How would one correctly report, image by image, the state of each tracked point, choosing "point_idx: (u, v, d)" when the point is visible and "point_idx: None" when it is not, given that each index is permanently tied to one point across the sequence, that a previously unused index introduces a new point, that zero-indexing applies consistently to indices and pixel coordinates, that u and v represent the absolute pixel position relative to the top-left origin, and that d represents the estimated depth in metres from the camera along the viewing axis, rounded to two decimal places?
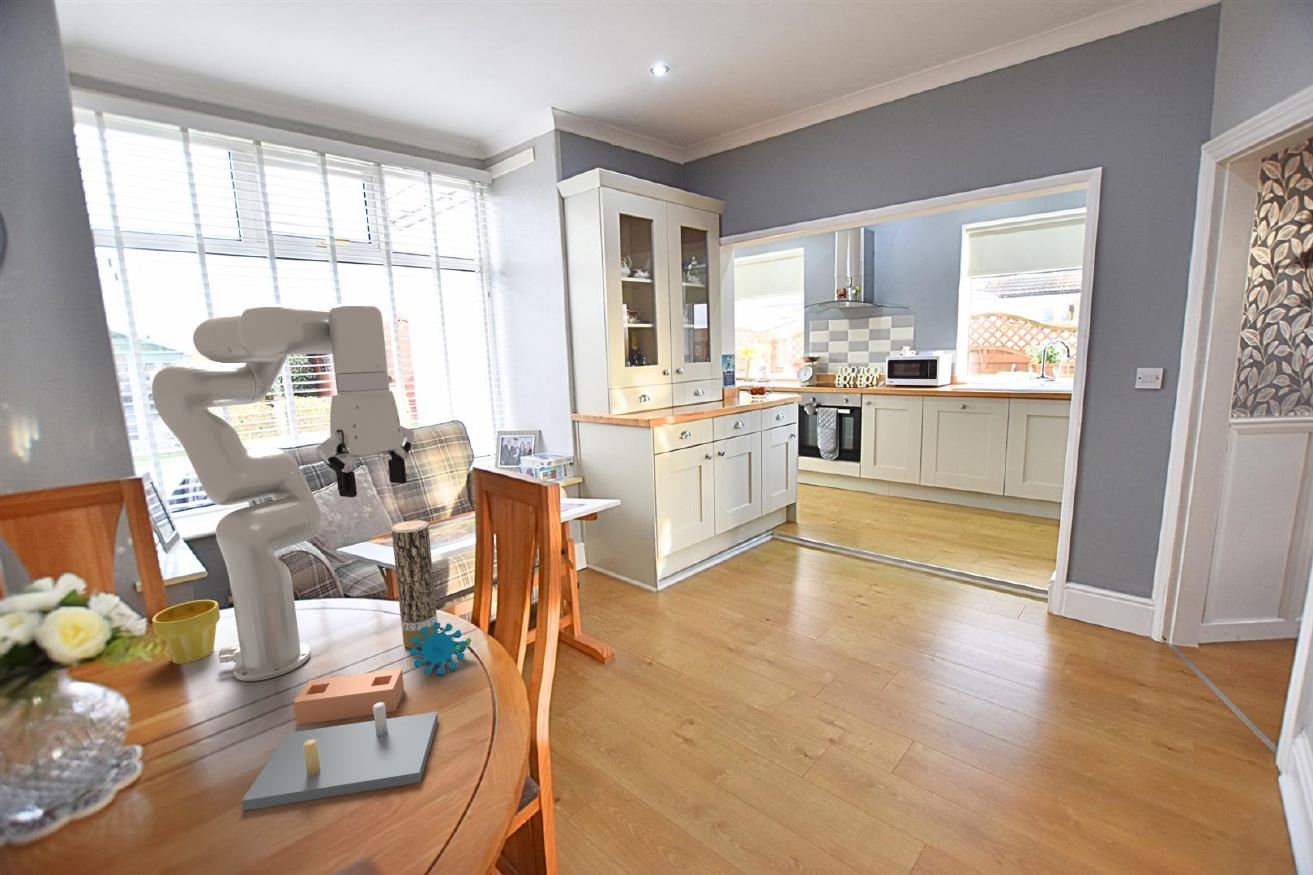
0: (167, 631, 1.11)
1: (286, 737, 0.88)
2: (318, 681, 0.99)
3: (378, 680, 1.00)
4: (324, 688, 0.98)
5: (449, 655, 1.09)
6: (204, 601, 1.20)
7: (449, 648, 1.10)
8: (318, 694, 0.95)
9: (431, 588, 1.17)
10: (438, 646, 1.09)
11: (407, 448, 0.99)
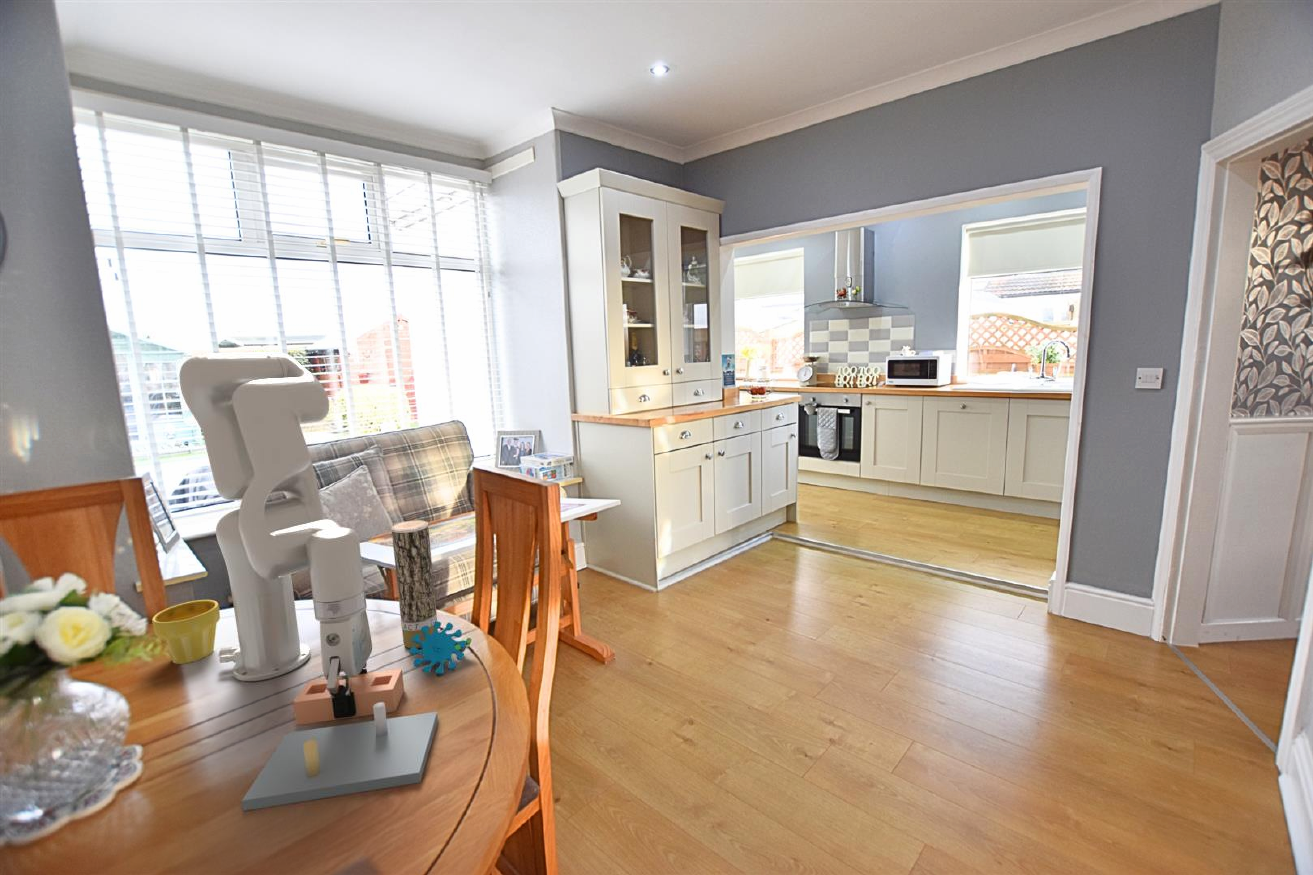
0: (167, 631, 1.11)
1: (286, 737, 0.88)
2: (318, 681, 0.99)
3: (378, 680, 1.00)
4: (324, 688, 0.98)
5: (449, 655, 1.09)
6: (204, 601, 1.20)
7: (449, 647, 1.10)
8: (318, 694, 0.95)
9: (431, 588, 1.17)
10: (438, 645, 1.09)
11: None
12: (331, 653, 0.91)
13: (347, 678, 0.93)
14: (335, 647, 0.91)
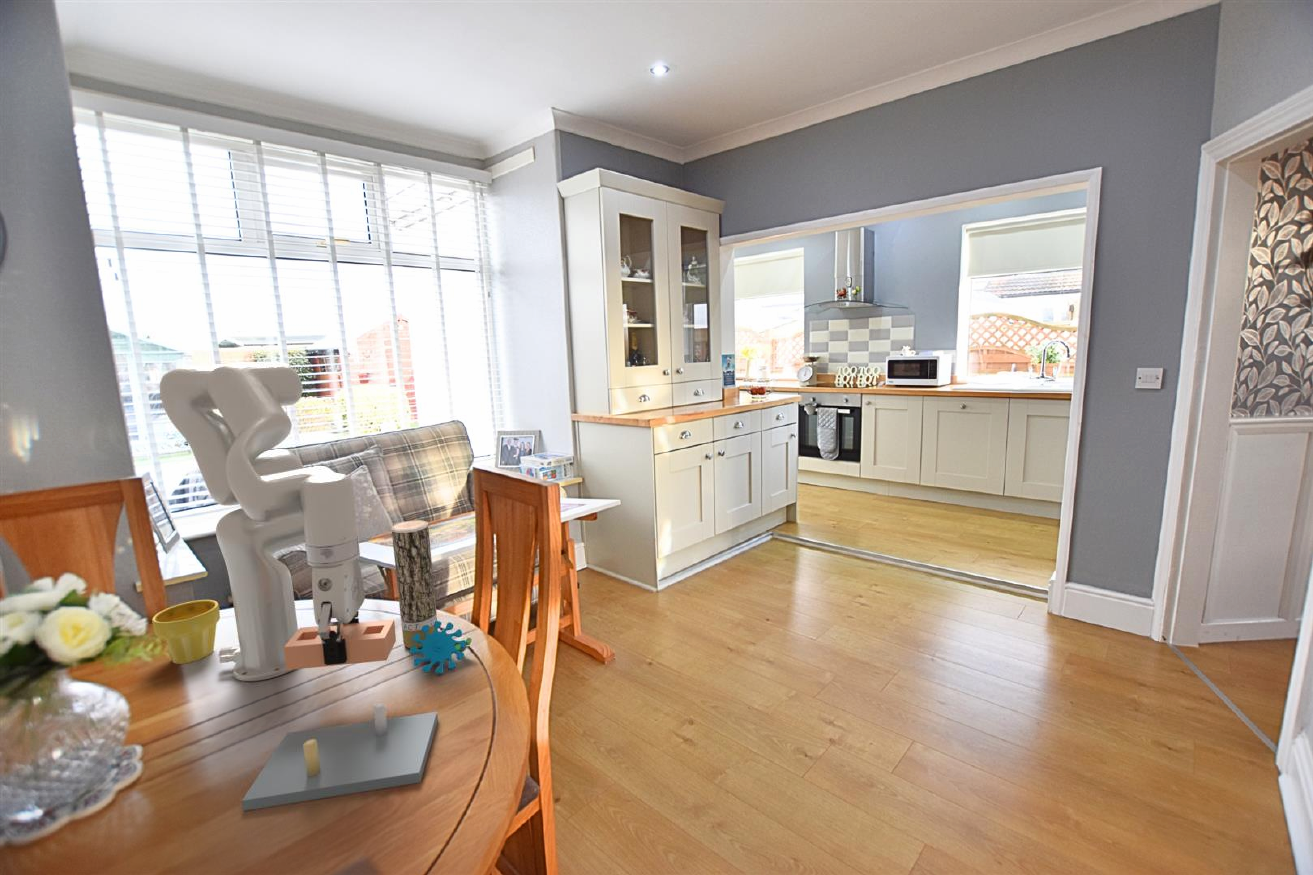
0: (167, 631, 1.11)
1: (286, 737, 0.88)
2: (309, 628, 0.98)
3: (370, 630, 0.99)
4: (315, 635, 0.97)
5: (449, 654, 1.09)
6: (204, 601, 1.20)
7: (449, 647, 1.10)
8: (309, 640, 0.94)
9: (431, 588, 1.17)
10: (438, 645, 1.09)
11: None
12: (322, 598, 0.90)
13: (338, 624, 0.92)
14: (327, 592, 0.90)
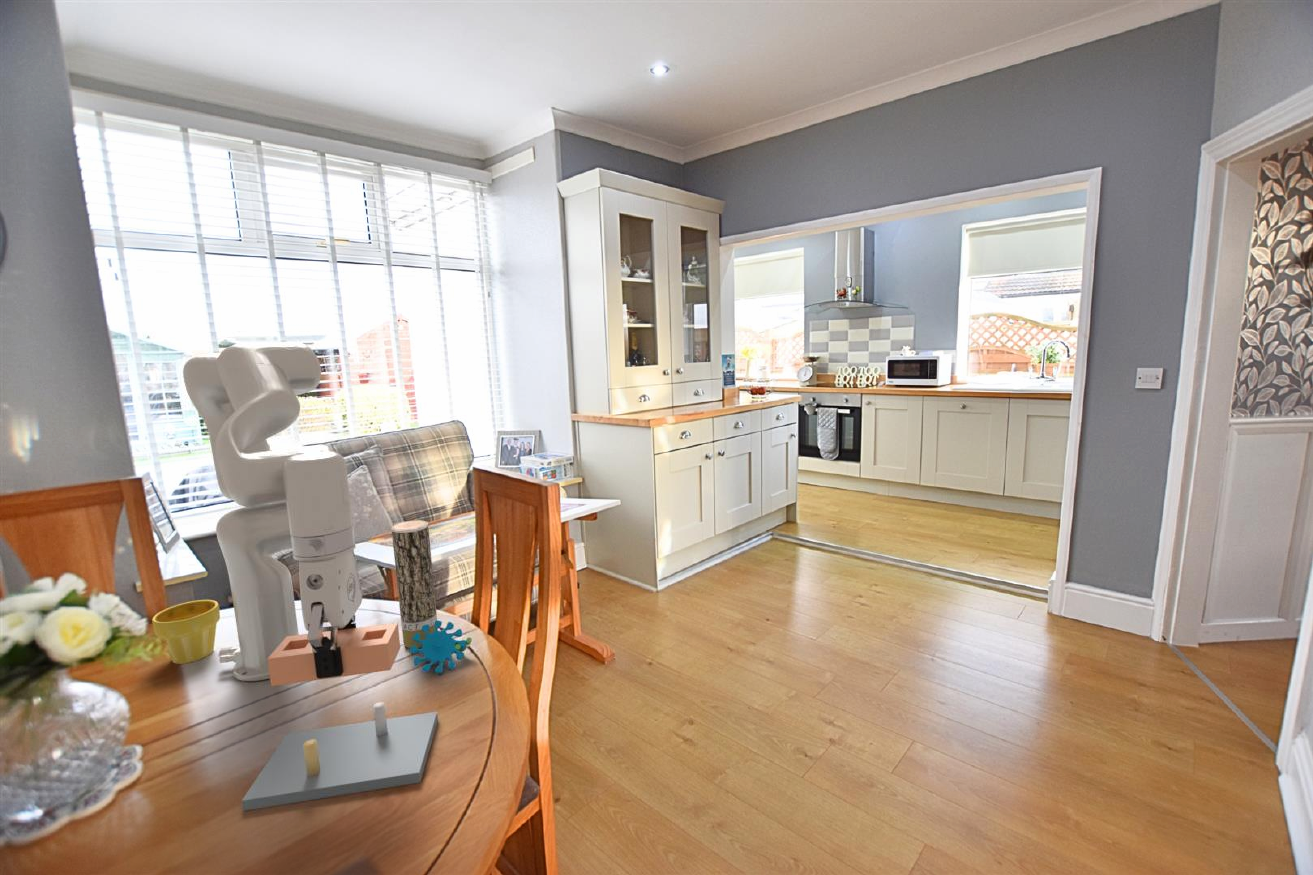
0: (167, 631, 1.11)
1: (286, 737, 0.88)
2: (298, 637, 0.83)
3: (370, 635, 0.84)
4: (305, 644, 0.83)
5: (449, 654, 1.09)
6: (204, 601, 1.20)
7: (449, 647, 1.10)
8: (298, 650, 0.79)
9: (431, 588, 1.17)
10: (438, 644, 1.09)
11: None
12: (312, 598, 0.76)
13: (332, 629, 0.78)
14: (318, 591, 0.76)
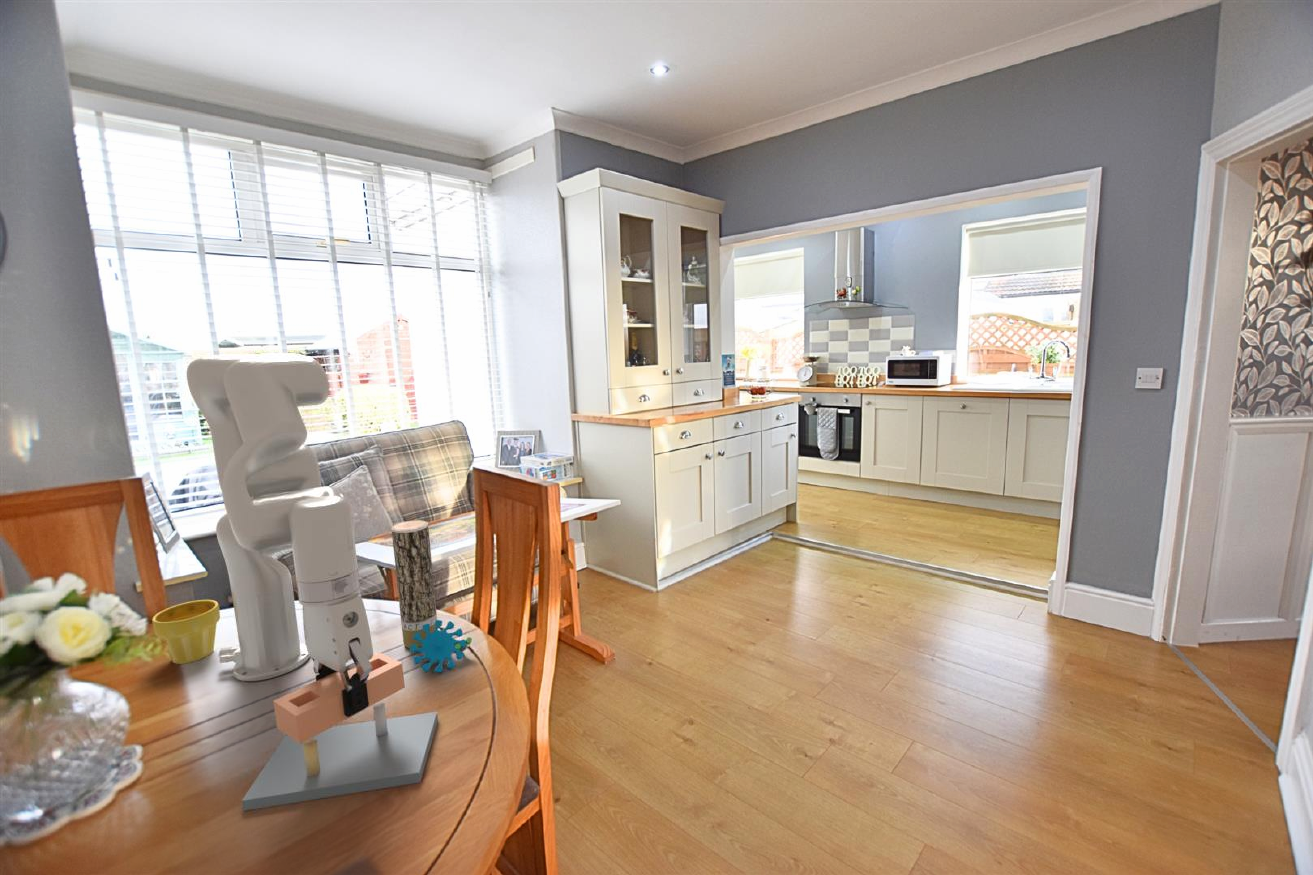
0: (167, 631, 1.11)
1: (286, 737, 0.88)
2: (289, 696, 0.80)
3: None
4: (303, 699, 0.80)
5: (449, 654, 1.10)
6: (204, 601, 1.20)
7: (449, 646, 1.10)
8: (316, 700, 0.78)
9: (431, 588, 1.17)
10: (438, 644, 1.09)
11: (354, 680, 0.79)
12: (350, 635, 0.79)
13: None
14: (354, 627, 0.79)
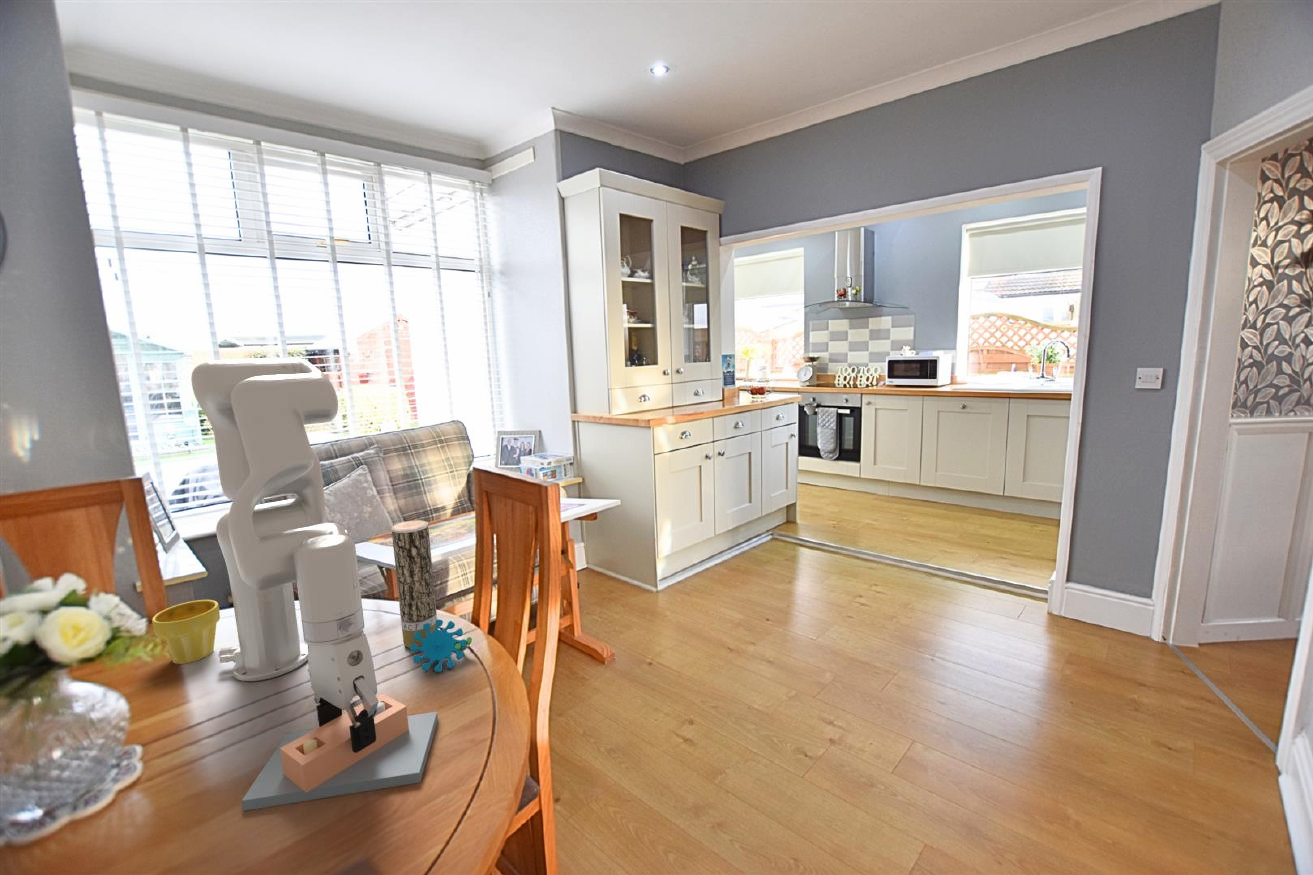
0: (167, 631, 1.11)
1: (286, 737, 0.88)
2: (295, 742, 0.81)
3: None
4: None
5: (448, 653, 1.10)
6: (204, 601, 1.20)
7: (449, 646, 1.11)
8: (322, 747, 0.79)
9: (431, 588, 1.17)
10: (438, 643, 1.10)
11: None
12: (354, 674, 0.79)
13: None
14: (358, 666, 0.80)
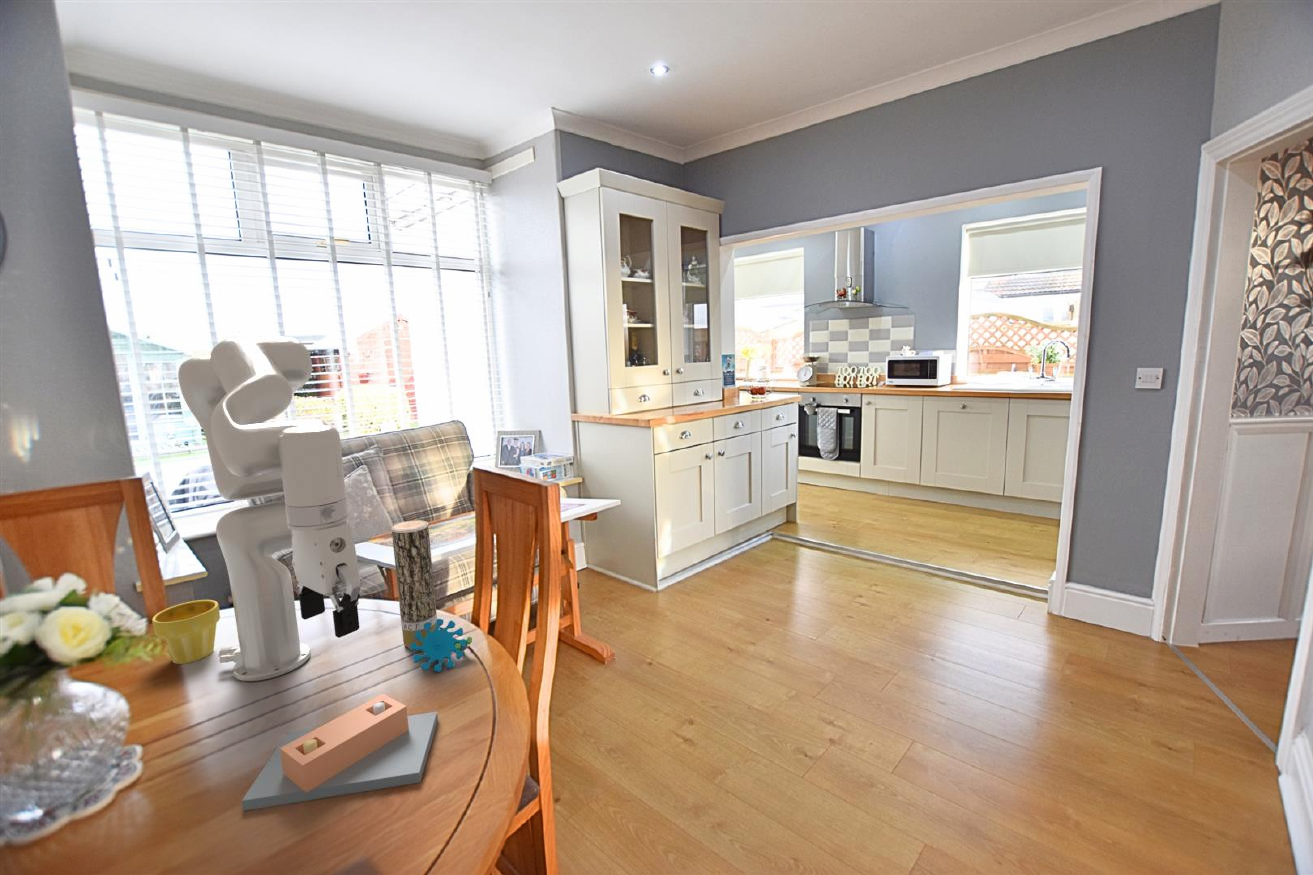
0: (167, 631, 1.11)
1: (286, 737, 0.88)
2: (295, 742, 0.81)
3: (368, 712, 0.88)
4: None
5: (448, 653, 1.10)
6: (204, 601, 1.20)
7: (449, 645, 1.11)
8: (322, 747, 0.79)
9: (431, 588, 1.17)
10: (438, 643, 1.10)
11: None
12: (337, 560, 0.80)
13: None
14: (341, 553, 0.81)
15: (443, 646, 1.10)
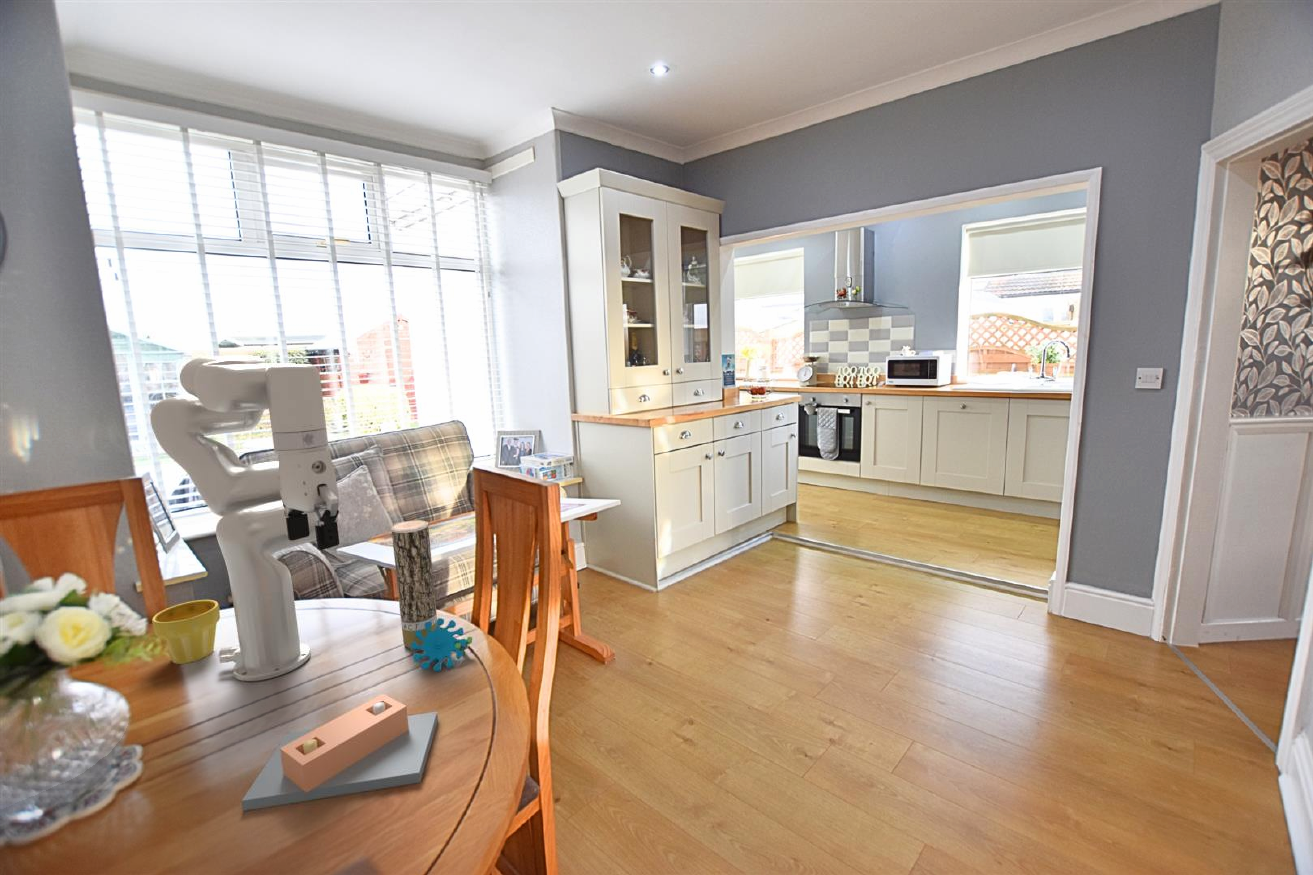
0: (167, 631, 1.11)
1: (286, 737, 0.88)
2: (295, 742, 0.81)
3: (368, 712, 0.88)
4: None
5: (448, 652, 1.10)
6: (204, 601, 1.20)
7: (449, 645, 1.11)
8: (322, 747, 0.79)
9: (431, 588, 1.17)
10: (438, 642, 1.10)
11: (325, 516, 0.91)
12: (318, 481, 0.91)
13: None
14: (322, 474, 0.92)
15: (443, 646, 1.10)
